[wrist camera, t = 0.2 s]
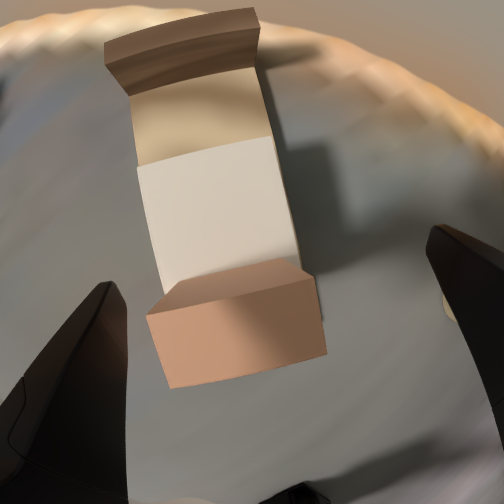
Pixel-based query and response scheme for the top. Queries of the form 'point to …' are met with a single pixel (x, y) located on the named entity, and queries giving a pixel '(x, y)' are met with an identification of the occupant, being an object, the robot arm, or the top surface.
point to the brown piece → (227, 266)
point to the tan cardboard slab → (192, 85)
